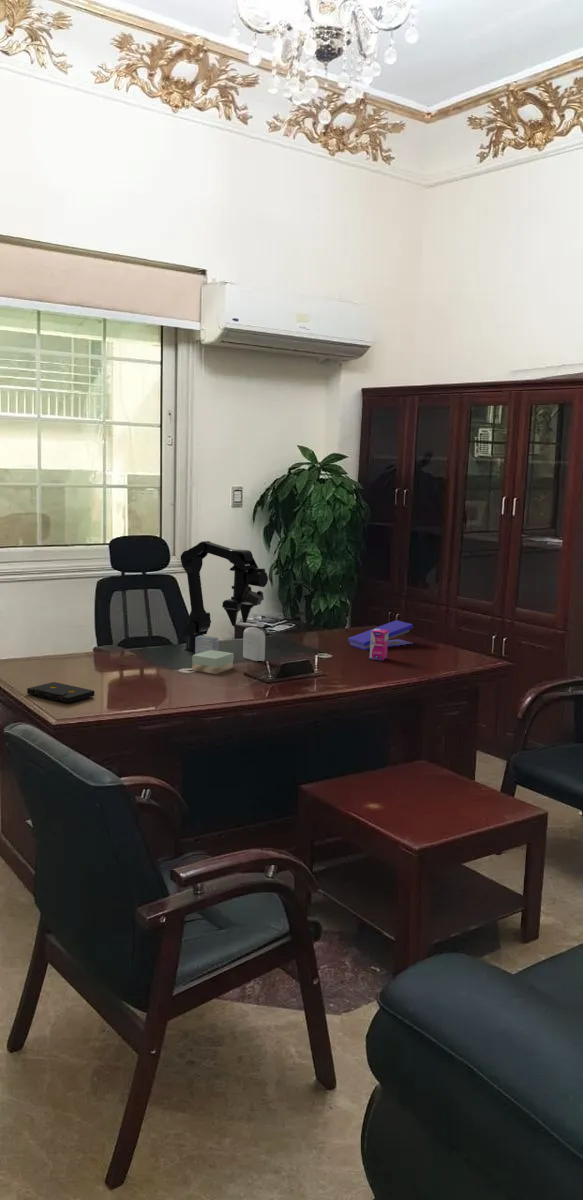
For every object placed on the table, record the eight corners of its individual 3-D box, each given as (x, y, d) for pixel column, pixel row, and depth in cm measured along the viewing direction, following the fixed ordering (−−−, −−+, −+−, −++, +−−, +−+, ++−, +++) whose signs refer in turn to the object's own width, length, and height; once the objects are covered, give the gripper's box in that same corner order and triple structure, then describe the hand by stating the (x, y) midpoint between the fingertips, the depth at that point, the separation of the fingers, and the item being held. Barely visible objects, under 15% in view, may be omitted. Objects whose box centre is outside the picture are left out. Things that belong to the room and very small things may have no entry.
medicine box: (218, 659, 348) (219, 637, 347) (212, 661, 344) (213, 639, 343) (200, 657, 352) (201, 635, 350) (194, 659, 348) (195, 636, 346)
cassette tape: (26, 694, 288) (26, 687, 288) (53, 687, 298) (53, 681, 298) (68, 703, 279) (68, 696, 279) (94, 696, 289) (94, 689, 289)
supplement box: (369, 659, 360) (370, 630, 358) (373, 656, 365) (374, 628, 364) (383, 661, 358) (384, 632, 356) (387, 658, 363) (389, 629, 362)
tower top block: (192, 663, 329) (192, 655, 328) (210, 657, 339) (210, 649, 339) (216, 667, 324) (216, 658, 324) (233, 661, 335) (233, 653, 334)
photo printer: (241, 657, 353) (242, 626, 352) (250, 656, 356) (251, 625, 354) (257, 662, 346) (258, 630, 344) (266, 661, 348) (267, 629, 346)
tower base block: (192, 671, 329) (192, 663, 328) (208, 665, 340) (209, 657, 339) (216, 675, 325) (216, 667, 324) (232, 669, 336) (232, 661, 335)
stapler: (414, 646, 392) (416, 623, 391) (364, 651, 376) (366, 628, 375) (396, 641, 402) (398, 619, 400) (347, 646, 385) (348, 623, 384)
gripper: (249, 588, 333) (247, 630, 336) (271, 583, 350) (268, 623, 353) (222, 585, 338) (220, 626, 340) (245, 580, 355) (242, 619, 357)
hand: (239, 624), depth 347 cm, fingers open, 9 cm apart
